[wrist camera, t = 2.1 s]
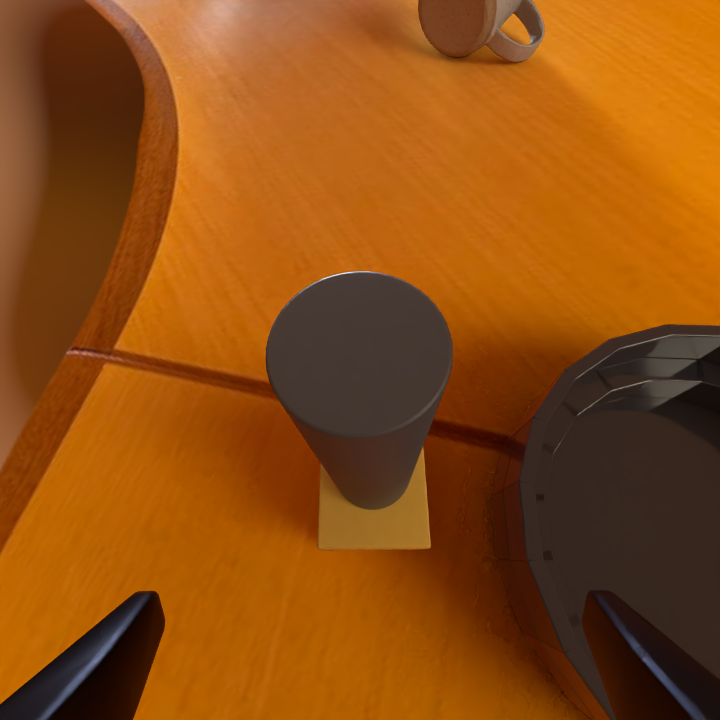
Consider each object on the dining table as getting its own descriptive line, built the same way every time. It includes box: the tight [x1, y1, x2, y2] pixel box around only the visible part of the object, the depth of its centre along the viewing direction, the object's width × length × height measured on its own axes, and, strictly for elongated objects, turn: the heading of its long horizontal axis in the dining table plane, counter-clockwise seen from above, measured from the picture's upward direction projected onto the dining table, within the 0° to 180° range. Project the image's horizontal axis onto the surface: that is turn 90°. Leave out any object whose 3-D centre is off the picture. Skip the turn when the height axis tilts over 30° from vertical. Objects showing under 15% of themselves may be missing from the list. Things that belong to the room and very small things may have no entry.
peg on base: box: [266, 271, 453, 550], centre depth 13 cm, size 6×4×15 cm
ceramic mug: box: [418, 0, 545, 62], centre depth 34 cm, size 11×8×8 cm
